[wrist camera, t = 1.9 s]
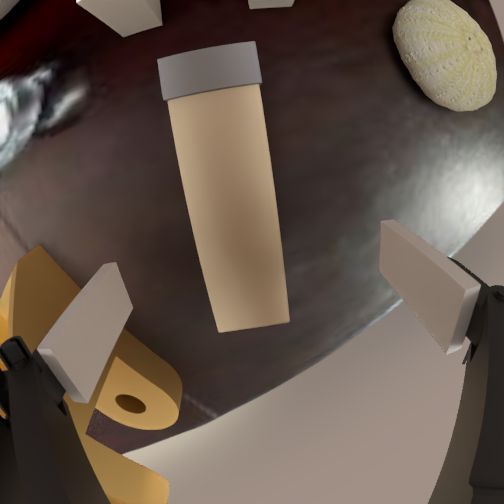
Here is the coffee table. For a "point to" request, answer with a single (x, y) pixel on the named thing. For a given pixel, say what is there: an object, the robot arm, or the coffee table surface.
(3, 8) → the serving bowl
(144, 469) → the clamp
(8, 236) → the coffee table surface
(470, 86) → the sea urchin shell
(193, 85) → the rail
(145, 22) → the white notched block
